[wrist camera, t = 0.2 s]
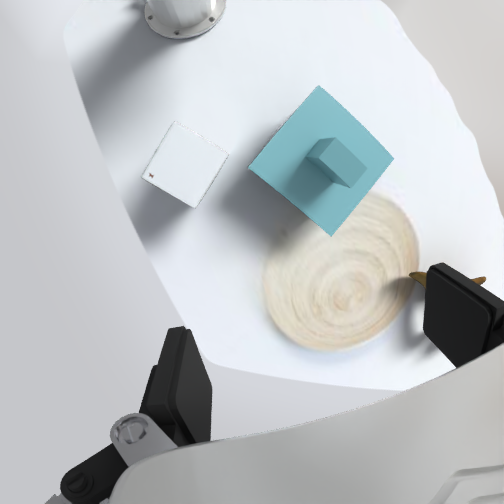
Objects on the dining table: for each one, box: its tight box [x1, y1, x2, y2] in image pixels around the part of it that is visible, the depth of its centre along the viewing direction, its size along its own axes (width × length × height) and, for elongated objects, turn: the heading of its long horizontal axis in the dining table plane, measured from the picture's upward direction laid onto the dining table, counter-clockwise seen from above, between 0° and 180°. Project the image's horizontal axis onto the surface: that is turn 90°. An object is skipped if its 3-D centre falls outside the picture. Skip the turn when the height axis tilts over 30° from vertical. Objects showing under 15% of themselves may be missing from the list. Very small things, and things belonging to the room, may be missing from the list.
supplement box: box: [141, 121, 229, 208], centre depth 37 cm, size 7×7×13 cm
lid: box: [248, 86, 394, 236], centre depth 35 cm, size 14×14×8 cm
